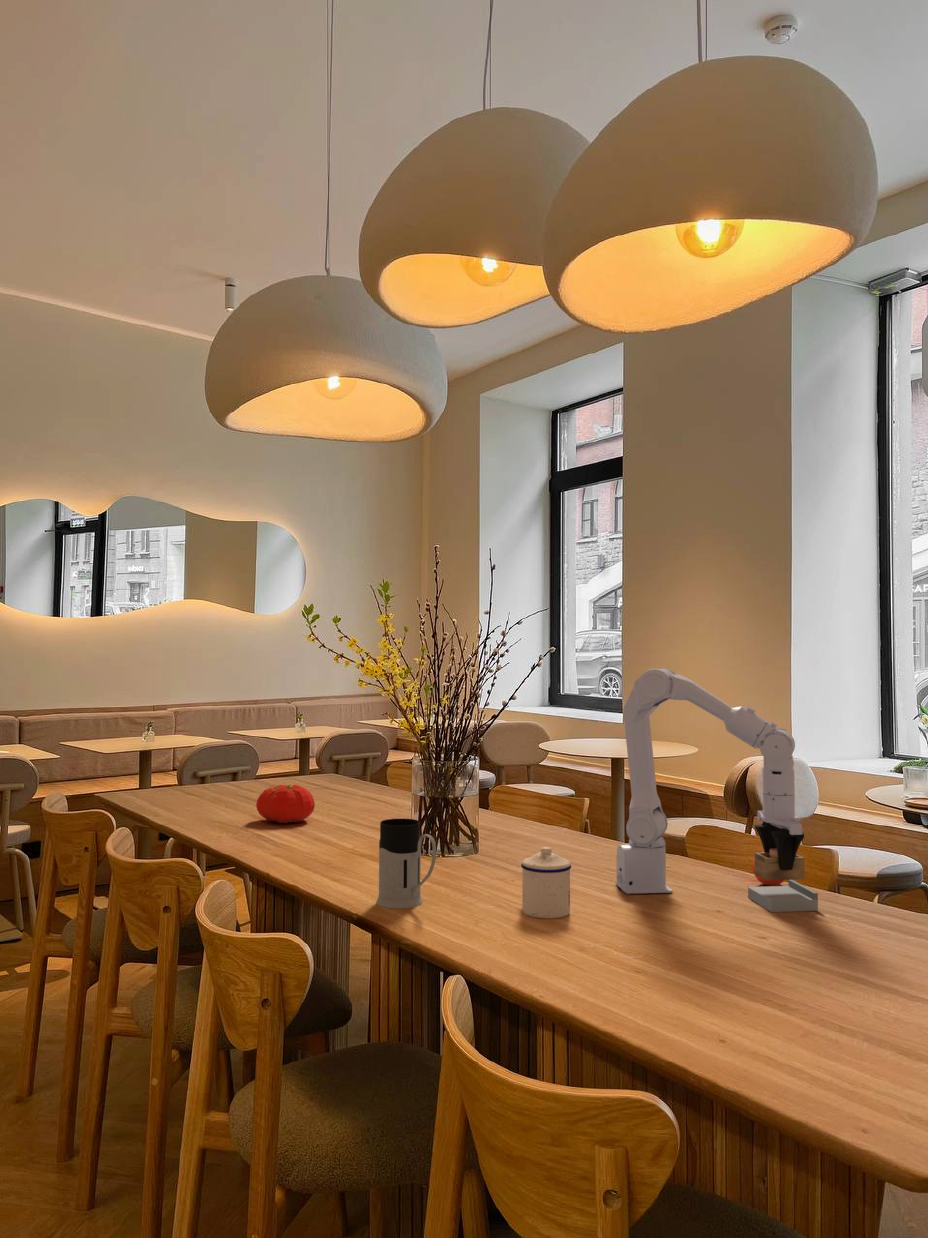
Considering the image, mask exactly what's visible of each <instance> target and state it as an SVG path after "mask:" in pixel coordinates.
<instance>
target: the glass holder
mask: <svg viewBox="0 0 928 1238" xmlns="http://www.w3.org/2000/svg"><path fill="white" fill-rule="evenodd" d="M420 824H421V823H420V821H419V820H418V819H414V818H389V819H384V820H380V822H379V836H380V838H379V841H378V842H379V843H378V897H377V899H376V901H375V902H376V905H377V904H378V905H377V906H379V907H383V908H386V909H400V910H401V909H411V908H416V907H418V906H420V905H422V904H423V898H422V896H421V886H423V884H424V883H425V882H427V880H428V879H429V878H430V877H431V876H432V873H433V870H434V867H435V864H436V859H437V844H436V840H435V839H434V837H433V836H432V835H430V834H428V833H425V834H422V835H421V825H420ZM420 835H421V836H420ZM424 838H429V840H430V841H431V845H432V846H431V847H432V857H431V863H430V866H429V869H428V872H427V874H426V875H425V876H424V878H423V879H422V880H421V864H422V863H421V859H422V858H421V853H422V843H423V840H424Z"/></svg>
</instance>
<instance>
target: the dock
mask: <svg viewBox="0 0 928 1238" xmlns="http://www.w3.org/2000/svg"><path fill="white" fill-rule="evenodd" d="M787 882H788V885H781V886H780V885H776V886H767V885H766V886H747V898H748V899H750V900H752V901H753V902H755V903H756V904H757V905H759V906H761V907H762V908H764V909H765V910H767V911H768V912H770V913H782V912H815V911H816V912H817V911H819V897H818V896H819V894H818V893H819V892H817V891H815V890H813V889H811V888H809V887H807V886H805V885H803V884H801V883H799V882H797V880H787Z"/></svg>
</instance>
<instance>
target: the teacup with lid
mask: <svg viewBox="0 0 928 1238" xmlns="http://www.w3.org/2000/svg"><path fill="white" fill-rule="evenodd" d="M552 851H553V849H552V848H551V847H548V846H542V847H541V848H540V851H539V852H537V853H534V855H532V856H529V857H527V858H526V857H525V858H524V859H523V860H522V861H521V869H522V872H521V873H522V876H521V877H522V881H521V883H522V890H521V892H522V907H521V908H522V912H523V913H524V915H526V916H529V917H531V918H537V919H542V920H543V919H545V920H546V919H547V920H549V919H550V920H551V919H560V918H564V917H566V916H568V915H569V914H570V913H571V868H572V864H571V862H570V860H568V859H566V858H563V857H560V855H559V854H556V853H555V852H552Z"/></svg>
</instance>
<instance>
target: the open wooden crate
mask: <svg viewBox="0 0 928 1238" xmlns="http://www.w3.org/2000/svg"><path fill="white" fill-rule="evenodd" d="M763 852H764V851H763ZM754 859H755V874H756V875H758V876H760V877H761V878H763V879H765V880H784V881H788V880H794V881H799V880H801V881H802V880H806V877H805V873H806V870H805V868H806V867H805V864H806V863H805V862H806V861H805V860H806V859H805V857H803V856H802V855H799V854H798V853H796V856H795V860H794V864H793V868H792V870H781V869H780V867H779V862H778V858H770V852H764V853H762V852H754Z"/></svg>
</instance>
